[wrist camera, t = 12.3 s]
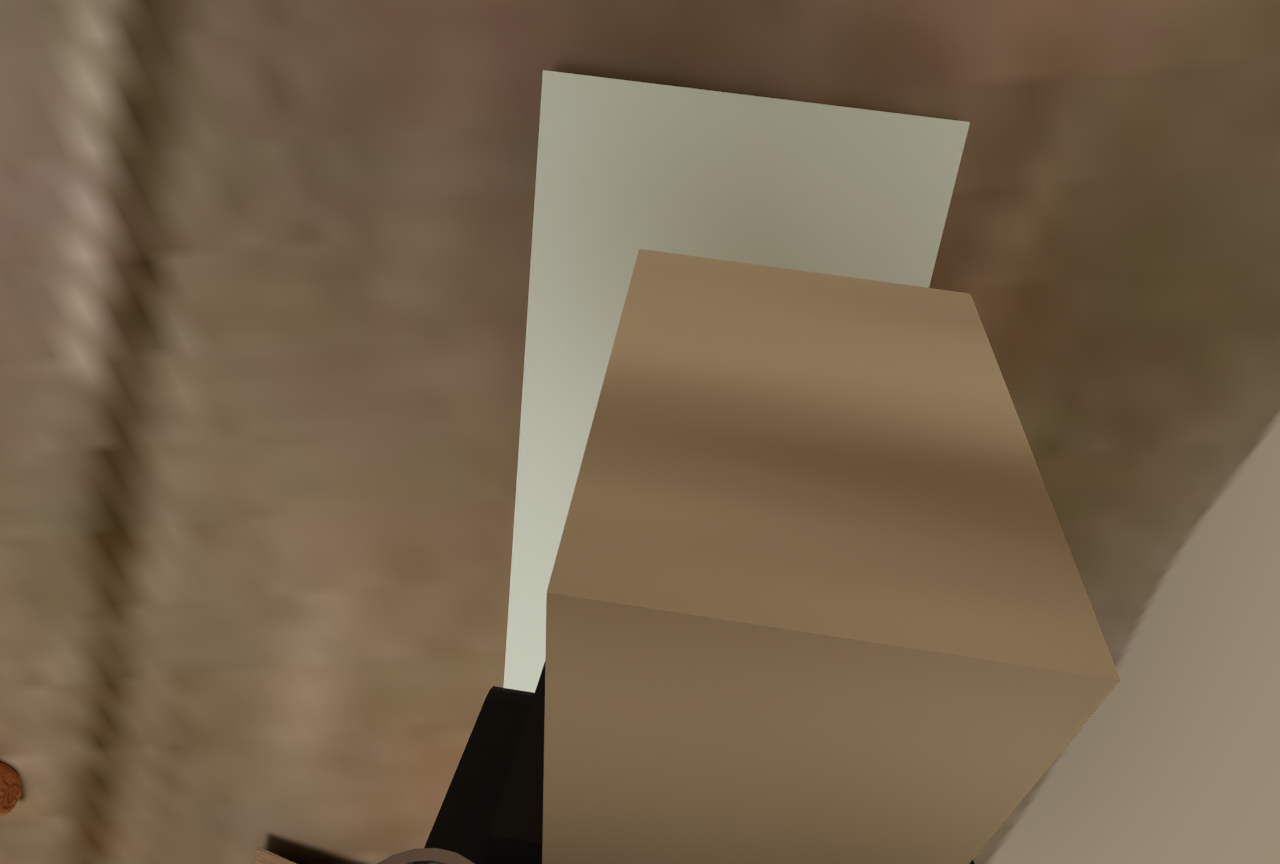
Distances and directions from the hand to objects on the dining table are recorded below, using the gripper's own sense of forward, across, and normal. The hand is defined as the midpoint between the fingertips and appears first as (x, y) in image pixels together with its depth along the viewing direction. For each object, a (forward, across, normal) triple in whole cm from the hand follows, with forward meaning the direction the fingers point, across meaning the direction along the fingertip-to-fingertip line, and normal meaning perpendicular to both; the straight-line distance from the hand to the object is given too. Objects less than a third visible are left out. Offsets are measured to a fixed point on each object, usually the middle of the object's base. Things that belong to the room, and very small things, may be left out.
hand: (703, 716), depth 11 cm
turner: (+2, 0, +3) cm, 4 cm away
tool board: (+13, 0, +3) cm, 13 cm away
